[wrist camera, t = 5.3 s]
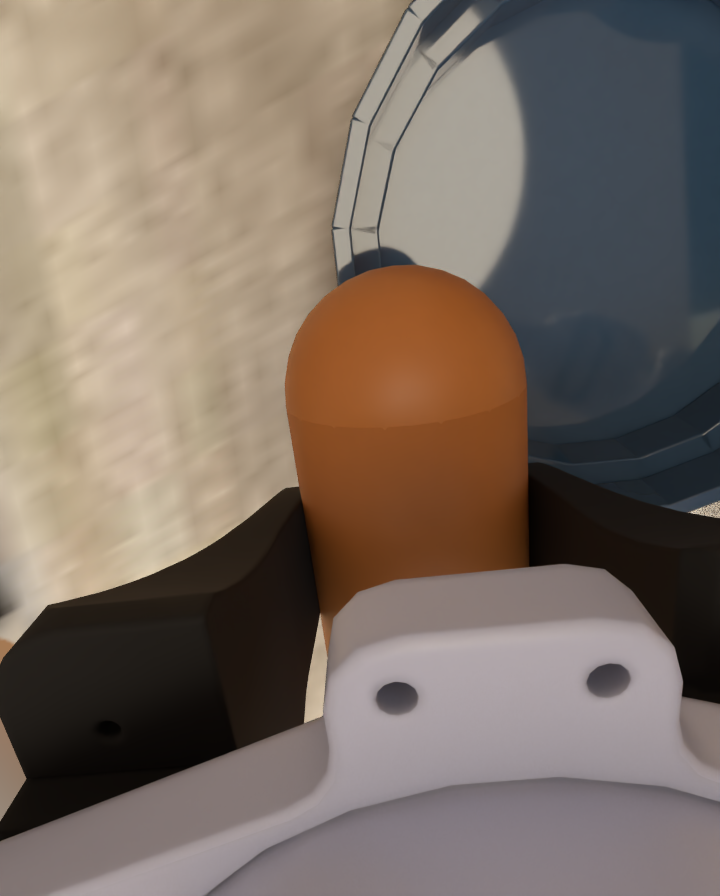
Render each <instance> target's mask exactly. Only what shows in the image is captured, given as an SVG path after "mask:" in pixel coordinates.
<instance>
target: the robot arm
mask: <svg viewBox="0 0 720 896" xmlns="http://www.w3.org/2000/svg"><path fill="white" fill-rule="evenodd" d="M528 500H529V567H526V568H515V569H505V570H494V571H483V572H473V573H462V574H452V575H441V576H430V577H420V578H409V579H399V580H393V581H390V582H387V583H384V584H381V585H378V586H375V587H372V588H369V589H366V590H363V591H360V592H357V593H356V594H355V595H354V596H353V598H352V599H351V600H350V601H349V602H348V603H347V604H346V605H345V606H344V607H343V608H342V609H341V610H340V611H339V613H338V614H337V615H336V616H335V617H334V618H333V624H332V630H331V636H330V643H329V649H328V660H327V672H326V683H325V695H324V707H323V716H322V717H320V718H317V719H315V720H312V721H309V722H307V723H304V714H305V700H306V689H307V682H308V675H309V669H310V664H311V659H312V654H313V648H314V643H315V638H316V632H317V627H318V622H319V616H320V607H319V601H318V595H317V589H316V582H315V576H314V570H313V564H312V558H311V552H310V546H309V540H308V534H307V528H306V522H305V516H304V510H303V504H302V498H301V494H300V488H299V487H292V488H285V489H284V490H282V491H281V492H279V493H278V494H277V495H276V496H274V497H273V498H272V499H271V500H270V501H268V502H267V503H266V504H265V505H264V506H262V507H261V508H260V509H259V510H258V511H256V512H255V513H254V514H253V515H252V516H250V517H249V518H248V519H247V520H245V521H244V522H243V523H241V524H240V525H239V526H237V527H236V528H234V529H233V530H232V531H230V532H229V533H228V534H226V535H225V536H224V537H222V538H221V539H219V540H218V541H216V542H215V543H213V544H211V545H210V546H208V547H206V548H205V549H203V550H201V551H199V552H198V553H196V554H194V555H192V556H190V557H189V558H187V559H185V560H183V561H180V562H178V563H176V564H174V565H172V566H169V567H167V568H165V569H163V570H161V571H159V572H156V573H154V574H152V575H149V576H147V577H144V578H141V579H139V580H136V581H133V582H131V583H128V584H125V585H122V586H119V587H116V588H113V589H109V590H106V591H103V592H99V593H96V594H92V595H88V596H84V597H80V598H76V599H72V600H68V601H64V602H60V603H56V604H51V605H48V606H47V607H46V608H45V609H44V610H43V612H42V613H41V614H40V615H39V616H38V617H37V619H36V620H35V621H34V622H33V623H32V624H31V626H30V627H29V628H28V629H27V630H26V632H25V633H24V634H23V635H22V636H21V637H20V639H19V640H18V641H17V642H16V643H15V644H14V646H13V647H12V648H11V649H10V650H9V652H8V653H7V654H6V655H5V656H4V657H3V660H2V662H1V664H0V718H1V720H2V723H3V725H4V727H5V730H6V732H7V734H8V737H9V739H10V741H11V743H12V746H13V748H14V751H15V753H16V755H17V758H18V760H19V762H20V765H21V767H22V769H23V772H24V774H25V776H26V778H27V779H26V781H25V783H24V784H23V786H22V787H21V789H20V791H19V792H18V794H17V795H16V797H15V799H14V800H13V802H12V804H11V805H10V807H9V808H8V810H7V812H6V813H5V815H4V817H3V818H2V820H1V821H0V896H720V518H714V517H708V516H702V515H696V514H691V513H687V512H682V511H677V510H673V509H669V508H665V507H662V506H658V505H654V504H650V503H646V502H643V501H640V500H637V499H633V498H631V497H628V496H625V495H622V494H619V493H616V492H613V491H611V490H608V489H605V488H603V487H600V486H598V485H595V484H593V483H590V482H588V481H586V480H583V479H581V478H578V477H576V476H574V475H571V474H569V473H567V472H564V471H562V470H560V469H557V468H555V467H552V466H550V465H547V464H544V463H539V462H536V463H528Z"/></svg>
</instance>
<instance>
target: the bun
mask: <svg viewBox="0 0 720 896" xmlns="http://www.w3.org/2000/svg"><path fill="white" fill-rule="evenodd" d="M285 396H286V409H287V415H288V421H289V427H290V433H291V439H292V445H293V451H294V457H295V463H296V469H297V475H298V481H299V488H300V494H301V498H302V504H303V510H304V516H305V522H306V528H307V534H308V540H309V546H310V552H311V558H312V564H313V570H314V576H315V582H316V589H317V595H318V601H319V607H320V614H321V620H322V627H323V633H324V639H325V645H326V651H327V657H328V649H329V643H330V636H331V630H332V624H333V618H334V617H335V616H336V615H337V614H338V613H339V611H340V610H341V609H342V608H343V607H344V606H345V605H346V604H347V603H348V602H349V601H350V600H351V599H352V598H353V596H354V595H355V594H356V593H357V592H360V591H363V590H366V589H369V588H372V587H375V586H378V585H381V584H384V583H387V582H390V581H393V580H399V579H409V578H420V577H430V576H441V575H452V574H462V573H473V572H483V571H494V570H505V569H515V568H526V567H529V500H528V430H527V381H526V372H525V364H524V357H523V354H522V351H521V348H520V345H519V342H518V340H517V337H516V334H515V332H514V331H513V329H512V327H511V326H510V324H509V322H508V321H507V319H506V317H505V316H504V314H503V313H502V312H501V311H500V310H499V308H498V307H497V306H496V305H495V304H494V303H493V302H492V301H491V300H490V299H489V298H488V297H487V296H486V294H485V293H483V292H482V291H480V290H479V289H478V288H476V287H475V286H473V285H472V284H470V283H469V282H468V281H466V280H465V279H462V278H460V277H458V276H455V275H453V274H451V273H448V272H446V271H444V270H440V269H435V268H430V267H425V266H420V265H394V266H388V267H383V268H378V269H373V270H369V271H367V272H364V273H362V274H360V275H358V276H355V277H353V278H351V279H349V280H347V281H345V282H344V283H342V284H341V285H340V286H338V287H337V288H335V289H334V290H333V291H331V292H330V293H328V294H327V295H326V296H325V297H324V298H323V299H322V300H321V301H320V302H319V303H318V304H317V305H316V306H315V308H314V309H313V310H312V311H311V312H310V313H309V314H308V316H307V318H306V319H305V321H304V323H303V324H302V326H301V328H300V329H299V331H298V333H297V334H296V337H295V340H294V343H293V345H292V348H291V351H290V354H289V358H288V365H287V372H286V379H285Z"/></svg>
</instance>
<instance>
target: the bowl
mask: <svg viewBox="0 0 720 896" xmlns="http://www.w3.org/2000/svg"><path fill="white" fill-rule="evenodd" d="M331 232H332V240H333V249H334V258H335V266H336V275H337V284H338V286H340V285H341V284H342V283H344V282H345V281H347V280H349V279H351V278H353V277H355V276H358V275H360V274H362V273H364V272H367V271H369V270H373V269H378V268H383V267H388V266H394V265H420V266H425V267H430V268H435V269H440V270H444V271H446V272H448V273H451V274H453V275H455V276H458V277H460V278H462V279H465V280H466V281H468V282H469V283H470V284H472V285H473V286H475V287H476V288H478V289H479V290H480V291H482V292H483V293H485V294H486V296H487V297H488V298H489V299H490V300H491V301H492V302H493V303H494V304H495V305H496V306H497V307H498V308H499V310H500V311H501V312H502V313H503V314H504V316H505V317H506V319H507V321H508V322H509V324H510V326H511V327H512V329H513V331H514V332H515V334H516V337H517V340H518V342H519V345H520V348H521V351H522V354H523V357H524V364H525V372H526V381H527V430H528V463H536V462H539V463H544V464H547V465H550V466H552V467H555V468H557V469H560V470H562V471H564V472H567V473H569V474H571V475H574V476H576V477H578V478H581V479H583V480H586V481H588V482H590V483H593V484H595V485H598V486H600V487H603V488H605V489H608V490H611V491H613V492H616V493H619V494H622V495H625V496H628V497H631V498H633V499H637V500H640V501H643V502H646V503H650V504H654V505H658V506H662V507H665V508H669V509H673V510H677V511H682V512H690V511H693V510H696V509H698V508H701V507H704V506H707V505H709V504H712V503H715V502H718V501H720V0H413V1H412V2H411V3H410V4H409V5H408V8H407V9H406V10H405V11H404V13H403V15H402V17H401V19H400V21H399V23H398V25H397V27H396V29H395V31H394V33H393V35H392V37H391V39H390V41H389V43H388V45H387V47H386V49H385V51H384V53H383V55H382V57H381V59H380V61H379V63H378V65H377V67H376V69H375V71H374V73H373V75H372V77H371V79H370V81H369V83H368V85H367V87H366V89H365V91H364V93H363V95H362V97H361V99H360V101H359V103H358V105H357V107H356V109H355V111H354V113H353V115H352V119H351V121H350V127H349V132H348V138H347V143H346V149H345V154H344V160H343V165H342V171H341V176H340V182H339V187H338V193H337V198H336V204H335V209H334V215H333V220H332V230H331Z"/></svg>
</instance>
